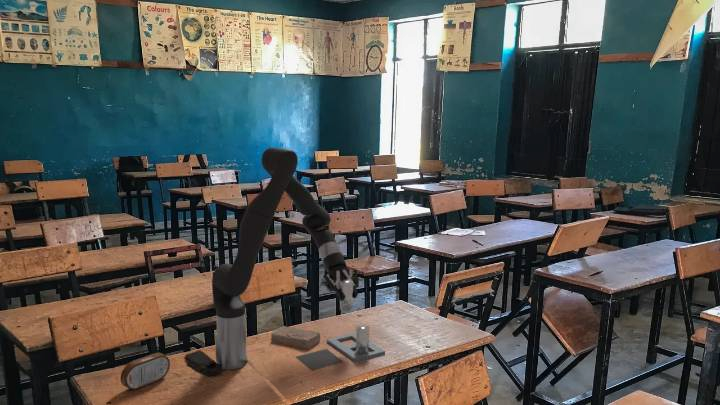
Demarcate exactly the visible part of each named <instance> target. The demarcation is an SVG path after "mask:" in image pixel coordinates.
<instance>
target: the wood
mask: <svg viewBox="0 0 720 405" xmlns="http://www.w3.org/2000/svg"><path fill="white" fill-rule="evenodd" d="M185 359H186V360H187V362H186V366H187V367H189V368H191V369H192V370H193V371H194V372H198V373H201V374H202V375H204V377H209V378H210V377H211V378H212V377H217V376H219V375H220V374H221V368H222V366H221V365H220V364H217V363H216V360H214V359H212V358H210V356H208V355H207V353H204V352H203V351H202V350H200V349H198V350H196V351H192V352H191V353H187V354H185Z"/></svg>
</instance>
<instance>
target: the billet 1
mask: <svg viewBox="0 0 720 405" xmlns="http://www.w3.org/2000/svg"><path fill="white" fill-rule="evenodd" d="M340 289H341V290H342V292H343V295H344V297H345V299H344V300H343V301H341V300H339V310H340V311H343V312H349V311H353V309H354V298H353V280H350V279H344V280H340Z"/></svg>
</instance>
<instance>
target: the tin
mask: <svg viewBox="0 0 720 405" xmlns="http://www.w3.org/2000/svg"><path fill="white" fill-rule="evenodd" d="M170 364H171V361H170V359H169V357H168V356H166V355H165V354H164V353H162V352H155V353H152V354H149V355H146V356H143V357H140V358H137V359H134V360H132V361H130V362H128V363H127V364H126V365H125V366H124V367H123V369H122V371H121V373H120V383H121V385H122V386H124V387H125V388H126V389H129V390H133V389H134V390H138V389H140V388H139V387H141V388H143V387H145V385H146V386H149V385H150V384H154V383H156V382H158V381H160V380H162V379H164V378H165V377H166V375H167V374H168V373H169V371H170V366H171V365H170ZM142 386H143V387H142ZM137 388H138V389H137Z"/></svg>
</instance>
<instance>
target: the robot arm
mask: <svg viewBox="0 0 720 405" xmlns="http://www.w3.org/2000/svg"><path fill="white" fill-rule="evenodd" d="M260 160H261V165H262V167H263V169H264V170H265V172H266V173H267V174H268V175H269V176H270V177H271V178H270V180H269V182H268V183H267V185H266V186H265V188H263V189H262V191H261V192H259V194H257V195H256V196H255V197H254V198H253V199H252V200H251V201H250V202H249V204H248V205H247V207H246V209H245V212H244V213H243V216H242V218H241V221H240V224H239V229H238V230H239V234H238V235H239V236H238V240H239V241H238V250H237V253H236V256H235V258H234V260H233V263H232V264H230V263H223V264H219V266H217V267H216V268H215V270H214V272H213V273H212V278H211V289H212V290H211V291H212V300H213V306H214V308H215V309H214V310H215V311H216V312H215V314H216V335H215V336H214V341H215V346H214V347H215V362H216V363H217V364H220V365H221V366H222V368H221V370H222V371H224V370H236V369H240V368H243V367H245V366H246V364H247V363H248V361H247V360H248V358H247V357H248V356H247V353H248V352H247V322H246V321H247V319H246V314H247V313H246V304H245V303H244V302H243V300H242V298H241V295H243V294H244V292H246V290H247V288H248V286H249V285H250V282H251V279H252V276H253V273H254V268H255V265H256V263H257V259H258V257H259V254H260V251H261V249H262V246H263V243H264V242H265V241H264V240H265V238H266V236H267V233H268V231H269V230H270V226H271V224H272V222H273V220H274V216H275V215H276V211H277V209H278V207H279V204H280V203H281V201H282V198H283V195H284V193H286V195H287V196H288V197H289V198H290V200H291V201H292V203H293V204H294V205H295V207H296V209H297V210H298V212H299V213H300V214H301V215H302V216H303V217H302V221H301V223H302V226H303V228H304V229H305V230H306V232H307V233H309V235H310V236H311V238H312V239H313V241H314V243H315V245H316V248H317V250H318V253H319V256H320V258H321V262H322V263H323V267H324V268H325V271H326V273H327V274H323V276H322V277H321V281H322V282H323V284H324V285H325V287H326V288H327V289H328V290H329V292H334V293H335V294H336V296H337V299H338V300H339V301H340V300H341V301H343V300H344V299H345V297H344V295H343V292H342V290H341V289H340V280H344V279H350V280H353V299H356V298H357V297H358V295H359V293H358V290H357V288H356V287H357V285H358V284H359V283H360V282H359V277H358V276H359V275H358V270H357V269H356V268H354V269H349V268H348V266H347V263H346V260H345V258H344V255H343V254H342V250H341V249H340V247H339V245H338V243H337V241H336V239H335V236H334V235H333V233H332V231H331V230H328V229H323V228H325V227H328V226H329V225H330V223H331V221H332V220H331V215H330V213H329V212H328V210H326V208H324V207H322V205H320V204H319V203H318V202H317V201H316V200H315V198H314V197H313V195H312V193H311V192H310V190H309V189H308V188H307V186H305V185H304V184H303V183H302V182H301V181H300V180H298V179H297V178H296V177H295V176H294V174H295V173H296V171H297V167H298V163H299V159H298V155H297V153H296V151H294V150H292V149H288V148H281V147H274V146H271V147H268V148H266V149H265V150H264V151H263V153H262V154H261V159H260ZM321 229H323V230H321ZM319 230H320V231H319ZM221 370H220V371H221Z"/></svg>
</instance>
